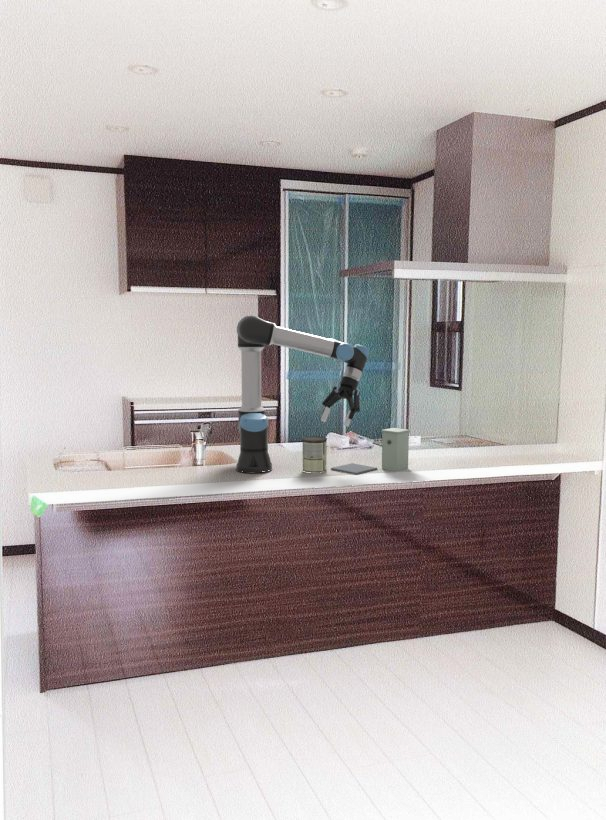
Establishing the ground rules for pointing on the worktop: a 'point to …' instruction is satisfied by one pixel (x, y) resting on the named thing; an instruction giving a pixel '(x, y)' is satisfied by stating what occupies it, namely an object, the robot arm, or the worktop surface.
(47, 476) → the worktop surface
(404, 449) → the block
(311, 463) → the coffee can
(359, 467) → the pad
